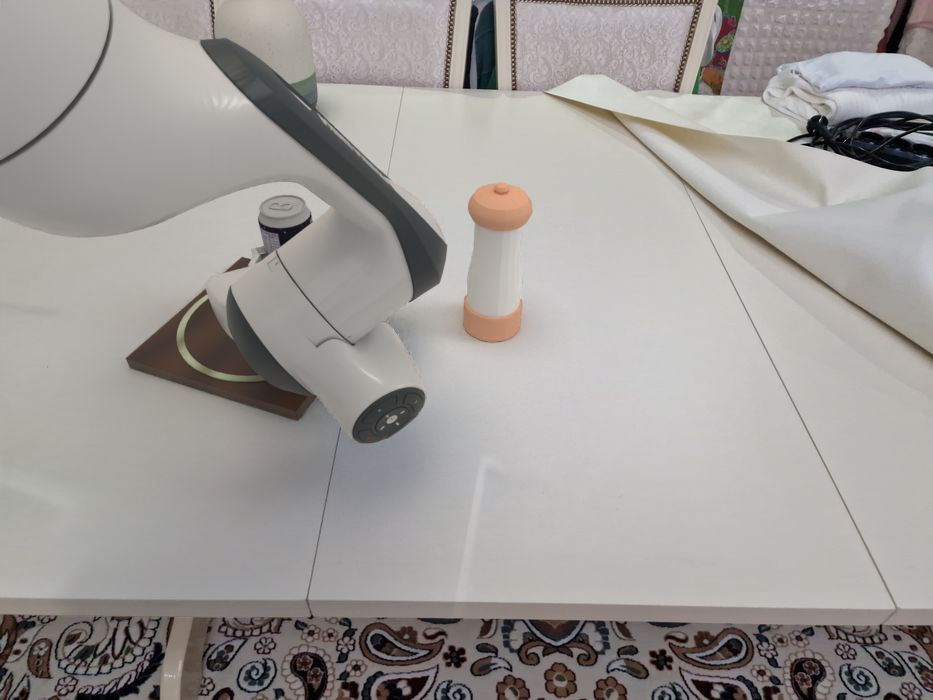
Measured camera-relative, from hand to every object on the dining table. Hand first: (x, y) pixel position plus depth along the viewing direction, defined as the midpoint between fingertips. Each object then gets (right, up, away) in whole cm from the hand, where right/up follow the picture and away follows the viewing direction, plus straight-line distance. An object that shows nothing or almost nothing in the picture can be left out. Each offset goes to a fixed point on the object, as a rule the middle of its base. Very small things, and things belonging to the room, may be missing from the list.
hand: (288, 245), depth 70 cm
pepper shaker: (+24, -9, +8) cm, 26 cm away
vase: (-17, +34, +53) cm, 66 cm away
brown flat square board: (-4, -10, +5) cm, 12 cm away
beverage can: (0, -5, +4) cm, 7 cm away
